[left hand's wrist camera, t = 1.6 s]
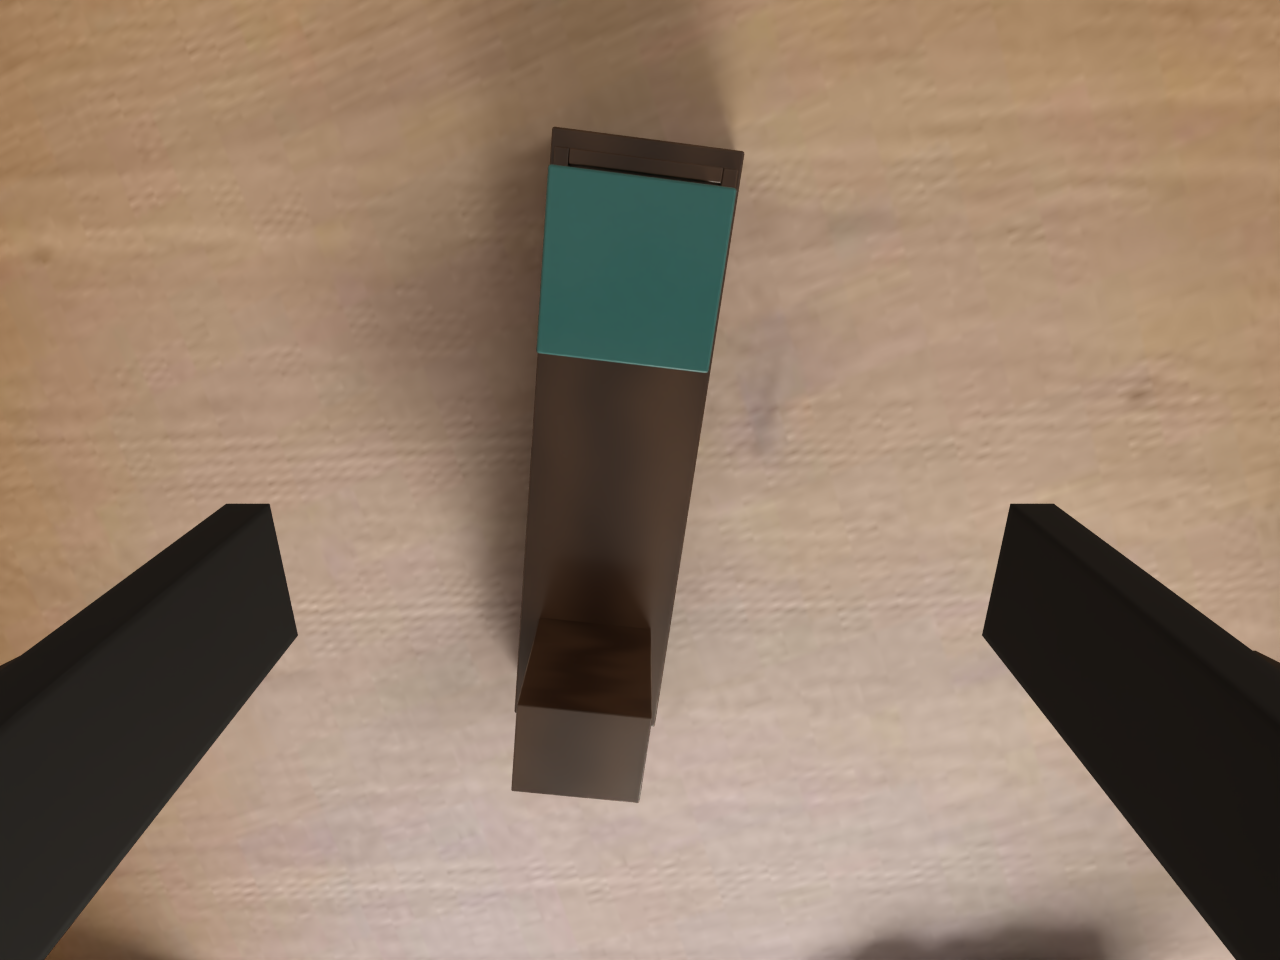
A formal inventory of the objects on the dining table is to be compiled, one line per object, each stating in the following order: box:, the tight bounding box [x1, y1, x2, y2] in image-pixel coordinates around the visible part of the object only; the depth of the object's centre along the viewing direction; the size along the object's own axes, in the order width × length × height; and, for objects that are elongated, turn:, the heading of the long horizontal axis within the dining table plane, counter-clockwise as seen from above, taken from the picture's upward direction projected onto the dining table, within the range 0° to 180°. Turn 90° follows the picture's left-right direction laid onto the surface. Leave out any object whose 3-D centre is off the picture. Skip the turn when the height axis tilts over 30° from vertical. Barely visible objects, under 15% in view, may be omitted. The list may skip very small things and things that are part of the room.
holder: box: [512, 127, 744, 803], centre depth 32 cm, size 8×30×10 cm, turn 173°
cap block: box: [536, 164, 737, 373], centre depth 26 cm, size 6×6×10 cm
